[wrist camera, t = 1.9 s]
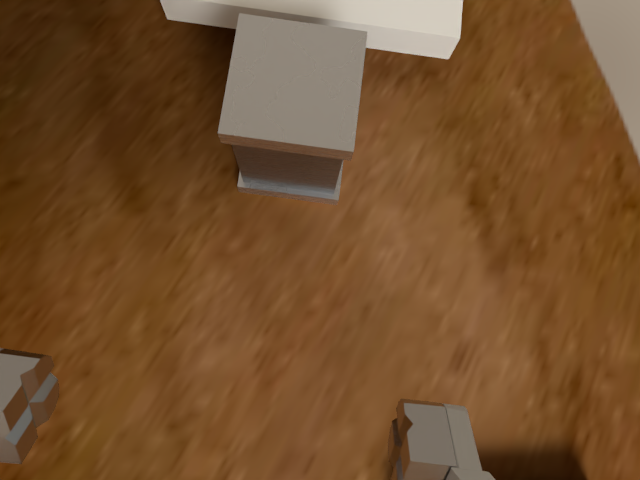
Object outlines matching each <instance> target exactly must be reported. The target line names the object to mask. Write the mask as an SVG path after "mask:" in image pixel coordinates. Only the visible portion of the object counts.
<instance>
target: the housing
mask: <svg viewBox="0 0 640 480" xmlns="http://www.w3.org/2000/svg"><path fill="white" fill-rule="evenodd" d="M367 32H368V31H361V30H354V29H347V28H340V27H333V26H326V25H319V24H312V23H305V22H298V21H291V20H284V19H277V18H270V17H263V16H256V15H249V14H242V13H239V17H238V23H237V28H236V34H235V39H234V45H233V50H232V56H231V61H230V67H229V73H228V78H227V84H226V89H225V95H224V100H223V106H222V112H221V117H220V123H219V128H218V136H219V138H220V141H221V143H225V144H232V148H233V151H234V154H235V157H236V160H237V163H238V166H239V170H240V172H239V178H238V184H237V188H238V190H239V192H244V193H251V194H259V195H266V196H273V197H281V198H288V199H296V200H303V201H311V202H318V203H326V204H333V205H337V203H338V200H339V192H340V184H341V176H342V167H343V160H350V161H351V159H352V155H353V152H354V144H355V135H356V127H357V118H358V110H359V101H360V92H361V84H362V75H363V67H364V58H365V49H366V41H367Z"/></svg>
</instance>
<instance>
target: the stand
mask: <svg viewBox="0 0 640 480" xmlns="http://www.w3.org/2000/svg"><path fill="white" fill-rule="evenodd" d="M160 2H161V4H162V7H163V9H164V12H165V15H166V17H167V19H168V20H175V21H182V22H189V23H196V24H203V25H210V26H217V27H224V28H231V29H236V28H237V23H238V17H239V13H242V14H249V15H256V16H263V17H270V18H277V19H284V20H291V21H298V22H305V23H312V24H319V25H326V26H333V27H340V28H347V29H354V30H361V31H368V32H367V41H366V48H372V49H379V50H386V51H393V52H400V53H407V54H414V55H421V56H428V57H436V58H443V59H449V58H450V56H451V54H452V52H453V50H454V48H455V47H456V45H457V43H458V41H459V39H460V34H461V20H462V6H463V0H160Z"/></svg>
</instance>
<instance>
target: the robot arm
mask: <svg viewBox="0 0 640 480" xmlns="http://www.w3.org/2000/svg"><path fill="white" fill-rule="evenodd" d="M53 367H54V363H53V360H52V357H51V356H49V355H43V354H36V353H30V352H23V351H16V350H10V349H3V348H0V462H6V463H17V464H22V462H23V461H24V459H25V457H26V456H27V454H28V453H29V451H30V449H31V448H32V446H33V444H34V443H35V441H36V439H37V438H38V435H37V429H36V428H37V427H38V426H40V425H41V424H43V423H44V422H46V421H48V420H49V418H50V416H51V415H52V413H53V411H54V409H55V407H56V404H57V400H58V397H59V383H58V379H57V378H56V377H55V376H53V375H52V374H51V373H50V372H51V370H52V369H53ZM396 411H397V418H396V419H394V420H393V421H392V424H391V427H390V432H389V440H388V456H389V462H390V464H391V465H392V466H393V468H394V470H393V473H392V476H391V479H390V480H495V479H494V477H493V476H492V475H491V474H490V473H489V472H486V471H482V468H481V464H480V460H479V456H478V452H477V448H476V443H475V439H474V435H473V431H472V427H471V423H470V419H469V415H468V411H467V409H466V408H465V407H464V406H458V405H450V404H442V403H437V402H428V401H419V400H410V399H400V401H399V402H398V405H397V408H396Z"/></svg>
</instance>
